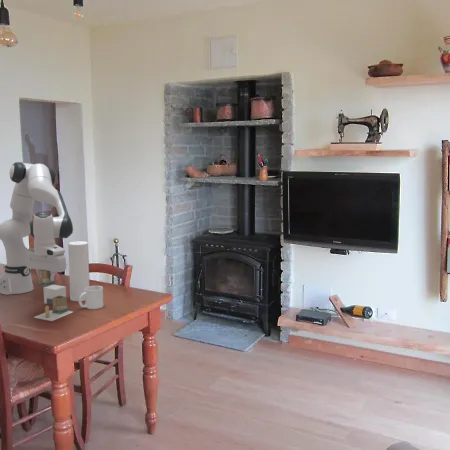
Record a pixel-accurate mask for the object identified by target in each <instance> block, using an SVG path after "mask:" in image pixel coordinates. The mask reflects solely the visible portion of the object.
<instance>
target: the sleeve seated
mask: <svg viewBox="0 0 450 450" xmlns="http://www.w3.org/2000/svg"><path fill="white" fill-rule="evenodd" d="M52 301H53V305H52V309H51V310H52V313H57V314H62V313H64V312H67V311H69V308H68V302H67V301H68V300H67V296H66V297H65V296H56V297H54V298H52Z"/></svg>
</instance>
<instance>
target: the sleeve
mask: <svg viewBox="0 0 450 450" xmlns="http://www.w3.org/2000/svg"><path fill="white" fill-rule="evenodd" d="M38 272H39V275H38V286H40V287H41V286H42V287H47V286H50V285H56V284H55V279H54V280H53V281H49V277H50V276H51V273H50V271H46V270H38Z"/></svg>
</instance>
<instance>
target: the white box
mask: <svg viewBox="0 0 450 450" xmlns="http://www.w3.org/2000/svg"><path fill="white" fill-rule="evenodd" d="M56 296H65V297H67V286H64V285H57V284H53V285H50V286H47V287H46V286H43V303H44V304H46V305H48V306H53V301H52V298H54V297H56Z"/></svg>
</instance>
